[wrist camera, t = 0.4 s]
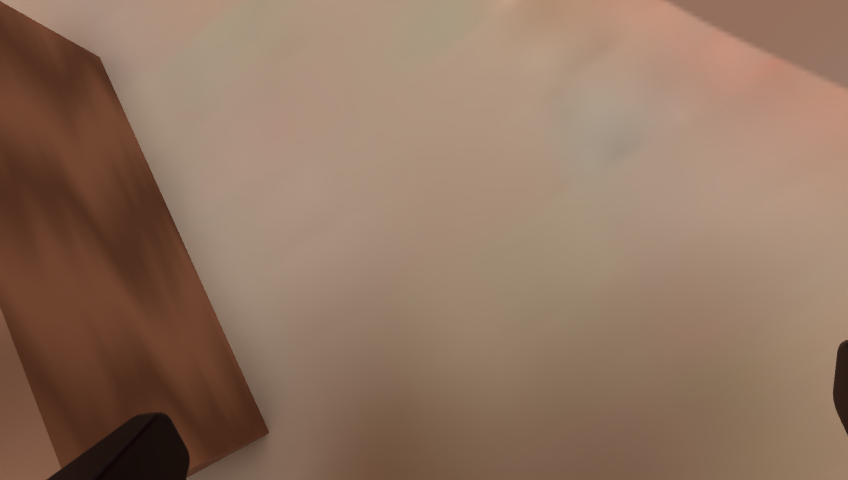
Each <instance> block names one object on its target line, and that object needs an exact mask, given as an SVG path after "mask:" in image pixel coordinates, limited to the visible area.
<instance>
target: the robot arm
mask: <svg viewBox="0 0 848 480" xmlns="http://www.w3.org/2000/svg"><path fill="white" fill-rule="evenodd" d="M833 399H834V404H835V408H836V411H837V413H838V415H839V418H840V420H841V422H842V424H843V426H844V428H845V430H846V433H847V435H848V340H845V341H844V342H842V343H841V344H840V346H839V347H838V351H837V359H836V369H835V378H834V387H833ZM189 465H190V455H189V451H188V449H187V447H186V445H185V443H184V441H183V439H182V437H181V436H180V434H179V432H178V430H177V428H176V426H175V425H174V423H173V421H172V419H171V418H170V416H169V415H167V414H166V413H165V412H150V413H142V414H138V415H135V416H134V417H132V418H131V419H129V420H128V421H127V422H125V423H124V424H122V425H121V426H120V427H118V428H117V429H116V430H114V431H113V432H111V433H110V434H109V435H107V436H106V437H104V438H103V439H102V440H100V441H99V442H98V443H96V444H95V445H93V446H92V447H91V448H89V449H88V450H87V451H85V452H84V453H82V454H81V455H80V456H78V457H77V458H75V459H74V460H73V461H71V462H70V463H69V464H67V465H66V466H64V467H63V468H62V469H60V470H59V471H57V472H56V473H55V474H53V475H52V476H51V477H49V478H48V479H46V480H186V477H187V474H188V470H189Z"/></svg>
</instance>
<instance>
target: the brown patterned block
mask: <svg viewBox="0 0 848 480" xmlns="http://www.w3.org/2000/svg"><path fill="white" fill-rule="evenodd" d="M150 412H165V413H166V414H167V415H169V416H170V418H171V419H172V421H173V423H174V425H175V426H176V428H177V430H178V432H179V434H180V436H181V437H182V439H183V441H184V443H185V445H186V447H187V449H188V451H189V455H190V465H189V470H188V474H187V477H189V476H191V475H192V474H194V473H196V472H198V471H200V470H202V469H203V468H205V467H207V466H209V465H211V464H213V463H214V462H216V461H218V460H220V459H222V458H224V457H225V456H227V455H229V454H231V453H233V452H235V451H236V450H238V449H240V448H242V447H244V446H246V445H247V444H249V443H251V442H253V441H255V440H257V439H258V438H260V437H262V436H264V435H266V434H268V433H269V431H268V429H267V427H266V425H265V423H264V420H263V418H262V416H261V414H260V412H259V409H258V407H257V405H256V403H255V400H254V398H253V396H252V394H251V392H250V389H249V387H248V385H247V383H246V381H245V378H244V376H243V374H242V372H241V369H240V367H239V365H238V363H237V361H236V358H235V356H234V354H233V352H232V350H231V347H230V345H229V343H228V341H227V338H226V336H225V334H224V332H223V330H222V327H221V325H220V323H219V321H218V319H217V316H216V314H215V312H214V310H213V307H212V305H211V303H210V301H209V299H208V296H207V294H206V292H205V290H204V288H203V285H202V283H201V281H200V279H199V276H198V274H197V272H196V270H195V268H194V265H193V263H192V261H191V259H190V257H189V254H188V252H187V250H186V248H185V246H184V243H183V241H182V239H181V237H180V234H179V232H178V230H177V228H176V226H175V223H174V221H173V219H172V217H171V215H170V212H169V210H168V208H167V206H166V203H165V201H164V199H163V197H162V195H161V192H160V190H159V188H158V186H157V184H156V181H155V179H154V177H153V175H152V172H151V170H150V168H149V166H148V164H147V161H146V159H145V157H144V155H143V153H142V150H141V148H140V146H139V144H138V141H137V139H136V137H135V135H134V133H133V130H132V128H131V126H130V124H129V122H128V119H127V117H126V115H125V113H124V110H123V108H122V106H121V104H120V102H119V99H118V97H117V95H116V93H115V91H114V88H113V86H112V84H111V82H110V79H109V77H108V75H107V73H106V71H105V68H104V66H103V64H102V62H101V60H100V57H98V56H96V55H94V54H93V53H91V52H89V51H87V50H86V49H84V48H82V47H80V46H78V45H77V44H75V43H73V42H71V41H70V40H68V39H66V38H64V37H63V36H61V35H59V34H57V33H55V32H54V31H52V30H50V29H48V28H47V27H45V26H43V25H41V24H40V23H38V22H36V21H34V20H32V19H31V18H29V17H27V16H25V15H24V14H22V13H20V12H18V11H16V10H15V9H13V8H11V7H9V6H8V5H6V4H4V3H2V2H1V1H0V480H46V479H48V478H49V477H51V476H52V475H53V474H55V473H56V472H57V471H59V470H60V469H62V468H63V467H64V466H66V465H67V464H69V463H70V462H71V461H73V460H74V459H75V458H77V457H78V456H80V455H81V454H82V453H84V452H85V451H87V450H88V449H89V448H91V447H92V446H93V445H95V444H96V443H98V442H99V441H100V440H102V439H103V438H104V437H106V436H107V435H109V434H110V433H111V432H113V431H114V430H116V429H117V428H118V427H120V426H121V425H122V424H124V423H125V422H127V421H128V420H129V419H131V418H132V417H134V416H135V415H138V414H142V413H150ZM187 477H186V478H187Z"/></svg>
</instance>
